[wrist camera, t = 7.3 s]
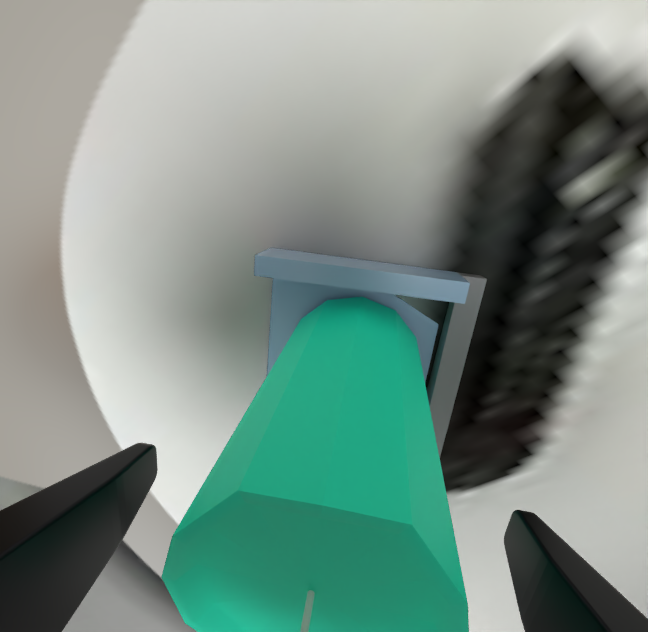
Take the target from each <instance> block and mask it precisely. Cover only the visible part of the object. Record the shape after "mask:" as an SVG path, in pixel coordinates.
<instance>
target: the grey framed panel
mask: <svg viewBox="0 0 648 632" xmlns="http://www.w3.org/2000/svg"><path fill="white" fill-rule="evenodd" d="M254 276H261V277H269V278H273V285H272V301H271V317H270V333H269V349H268V365H267V376H268V374H269V372H270V371H271V369H272V367H273V365H274V364H275V362H276V360H277V359H278V357H279V355H280V354H281V352H282V350H283V349H284V347H285V345H286V344H287V342H288V340H289V338H290V337H291V335H292V333H293V332H294V330H295V328H296V327H297V325H298V323H299V322H300V320H301V319H302V318H303V317H305V316H306V315H307V314H309V313H310V312H311V311H313V310H314V309H316V308H317V307H318V306H320V305H321V304H323V303H324V302H325V301H327V300H333V299H343V298H353V297H364V298H367V299H369V300H372V301H374V302H376V303H379V304H381V305H384V306H386V307H388V308H391V309H393V310H396V312H397V313H398V314H399V316H400V317H401V318H402V320H403V321H404V322H405V323H406V325H407V326H408V327H409V329H410V330H411V331H412V333H413V334H414V335H415V336H416V339H417V344H418V349H419V354H420V360H421V365H422V370H423V375H424V380H425V382H426V378H427V374H428V369H429V365H430V360H431V356H432V352H433V347H434V343H435V338H436V334H437V330H438V325H439V324H437V323H436V322H434V321H433V320H431V319H430V318H428V317H427V316H425V315H424V314H422V313H421V312H419V311H418V310H416V309H415V308H413V307H412V306H410V305H409V304H407V303H406V302H405V301H403V300H402V299H400V298H399V297H397V296H396V295H402V296H409V297H417V298H424V299H432V300H439V301H447V302H449V305H448V309H447V313H446V316H445V320H444V324H443V328H442V332H441V336H440V340H439V344H438V348H437V352H436V356H435V360H434V364H433V368H432V372H431V376H430V380H429V383H428V387H427V396H428V401H429V406H430V411H431V417H432V422H433V427H434V432H435V437H436V443H437V448H438V453H439V458H440V455H441V451H442V448H443V444H444V440H445V436H446V432H447V429H448V425H449V421H450V417H451V414H452V410H453V406H454V402H455V398H456V395H457V391H458V387H459V383H460V379H461V376H462V372H463V368H464V364H465V360H466V357H467V353H468V349H469V345H470V341H471V338H472V334H473V330H474V326H475V323H476V319H477V315H478V311H479V307H480V304H481V300H482V296H483V292H484V288H485V285H486V281H487V279H486V278H485V277H483V276H481V275H474V274H466V273H458V272H451V271H443V270H436V269H428V268H421V267H413V266H406V265H398V264H391V263H383V262H376V261H368V260H361V259H353V258H346V257H338V256H331V255H323V254H316V253H308V252H301V251H293V250H286V249H278V248H269V249H267V250H265V251H262V252H260V253H258V254H256V255H255V266H254ZM394 294H395V295H394Z"/></svg>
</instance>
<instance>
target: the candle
mask: <svg viewBox="0 0 648 632" xmlns="http://www.w3.org/2000/svg"><path fill="white" fill-rule="evenodd" d="M162 579H163V581H164V583H165V585H166V587H167V589H168V591H169V593H170V595H171V597H172V599H173V601H174V603H175V604H176V606H177V608H178V610H179V612H180V614H181V616H182V618H183V620H184V622H185V624H187V625H189V626H190V627H192V628H193V629H195V630H196V631H198V632H469V625H468V603H467V598H466V593H465V588H464V582H463V577H462V572H461V567H460V562H459V557H458V551H457V546H456V541H455V536H454V531H453V525H452V520H451V515H450V510H449V505H448V500H447V494H446V489H445V484H444V479H443V474H442V468H441V463H440V458H439V453H438V448H437V443H436V437H435V432H434V427H433V422H432V417H431V411H430V406H429V401H428V396H427V391H426V386H425V380H424V375H423V370H422V365H421V360H420V354H419V349H418V344H417V339H416V336H415V335H414V334H413V333H412V331H411V330H410V329H409V327H408V326H407V325H406V323H405V322H404V321H403V320H402V318H401V317H400V316H399V314H398V313H397V312H396V310H393V309H391V308H388V307H386V306H384V305H381V304H379V303H376V302H374V301H372V300H369V299H367V298H364V297H353V298H343V299H333V300H327V301H325V302H324V303H323V304H321V305H320V306H318V307H317V308H316V309H314V310H313V311H311V312H310V313H309V314H307V315H306V316H305V317H303V318H302V319H301V320H300V322H299V323H298V325H297V327H296V328H295V330H294V332H293V333H292V335H291V337H290V338H289V340H288V342H287V344H286V345H285V347H284V349H283V350H282V352H281V354H280V355H279V357H278V359H277V360H276V362H275V364H274V365H273V367H272V369H271V371H270V372H269V374H268V376H267V377H266V379H265V381H264V382H263V384H262V386H261V387H260V389H259V391H258V392H257V394H256V396H255V398H254V399H253V401H252V403H251V404H250V406H249V408H248V409H247V411H246V413H245V414H244V416H243V418H242V420H241V421H240V423H239V425H238V426H237V428H236V430H235V431H234V433H233V435H232V436H231V438H230V440H229V441H228V443H227V445H226V447H225V448H224V450H223V452H222V453H221V455H220V457H219V458H218V460H217V462H216V463H215V465H214V467H213V468H212V470H211V472H210V474H209V475H208V477H207V479H206V480H205V482H204V484H203V485H202V487H201V489H200V490H199V492H198V494H197V495H196V497H195V499H194V501H193V502H192V504H191V506H190V507H189V509H188V511H187V512H186V514H185V516H184V517H183V519H182V521H181V523H180V524H179V526H178V528H177V529H176V531H175V533H174V534H173V536H172V540H171V543H170V547H169V551H168V555H167V558H166V562H165V566H164V570H163V574H162Z"/></svg>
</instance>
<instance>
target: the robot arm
mask: <svg viewBox="0 0 648 632" xmlns="http://www.w3.org/2000/svg"><path fill="white" fill-rule="evenodd" d="M156 475H157V454H156V447H155V446H154V445H152V444H146V443H137V444H135V445H133V446H131V447H129V448H127V449H125V450H123V451H121V452H119V453H117V454H115V455H112V456H110V457H109V458H106V459H104V460H102V461H101V462H98V463H96V464H94V465H92V466H90V467H88V468H86V469H84V470H82V471H80V472H78V473H76V474H74V475H72V476H70V477H68V478H66V479H64V480H62V481H60V482H58V483H56V484H53V485H51V486H49V487H47V488H45V489H43V490H41V491H39V492H37V493H35V494H33V495H31V496H29V497H27V498H25V499H23V500H21V501H19V502H17V503H15V504H13V505H11V506H9V507H7V508H5V509H3V510H1V511H0V632H62V630H63V629H64V627H65V626H66V624H67V623H68V621H69V620H70V618H71V617H72V615H73V614H74V612H75V611H76V609H77V608H78V606H79V605H80V603H81V602H82V600H83V599H84V597H85V596H86V594H87V593H88V591H89V590H90V588H91V587H92V585H93V584H94V582H95V581H96V579H97V578H98V576H99V575H100V573H101V572H102V570H103V569H104V567H105V566H106V564H107V563H108V561H109V560H110V558H111V557H112V555H113V554H114V552H115V550H116V549H117V547H118V546H119V544H120V543H121V541H122V539H123V538H124V536H125V534H126V532H127V530H128V529H129V527H130V525H131V523H132V521H133V519H134V518H135V516H136V514H137V512H138V510H139V508H140V507H141V505H142V503H143V501H144V499H145V497H146V495H147V493H148V492H149V490H150V488H151V486H152V484H153V482H154V480H155V478H156ZM504 545H505V550H506V554H507V559H508V563H509V567H510V572H511V576H512V581H513V585H514V590H515V594H516V598H517V603H518V607H519V611H520V615H521V619H522V623H523V626H524V629H525V632H648V619H647V618H646V617H645V616H644V615H643V614H642V613H641V612H640V611H639V610H638V609H637V608H636V607H634V606H633V605H632V604H631V603H630V602H629V601H628V600H627V599H626V598H625V597H624V596H623V595H622V594H621V593H619V592H618V591H617V590H616V589H615V588H614V587H613V586H612V585H611V584H610V583H609V582H608V581H607V580H605V579H604V578H603V577H602V576H601V575H600V574H599V573H598V572H597V571H596V570H595V569H594V568H593V567H592V566H590V565H589V564H588V563H587V562H586V561H585V560H584V559H583V558H582V557H581V556H580V555H579V554H578V553H576V552H575V551H574V550H573V549H572V548H571V547H570V546H569V545H568V544H567V543H566V542H565V541H564V540H563V539H561V538H560V537H559V536H558V535H557V534H556V533H555V532H554V531H553V530H552V529H551V528H550V527H549V526H547V525H546V524H545V523H544V522H543V521H542V520H541V519H540V518H539V517H538V516H537V515H535V514H534V513H531V512H527V511H521V510H515V511H514V512H513V514H512V516H511V519H510V521H509V524H508V527H507V529H506V532H505V536H504Z"/></svg>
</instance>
